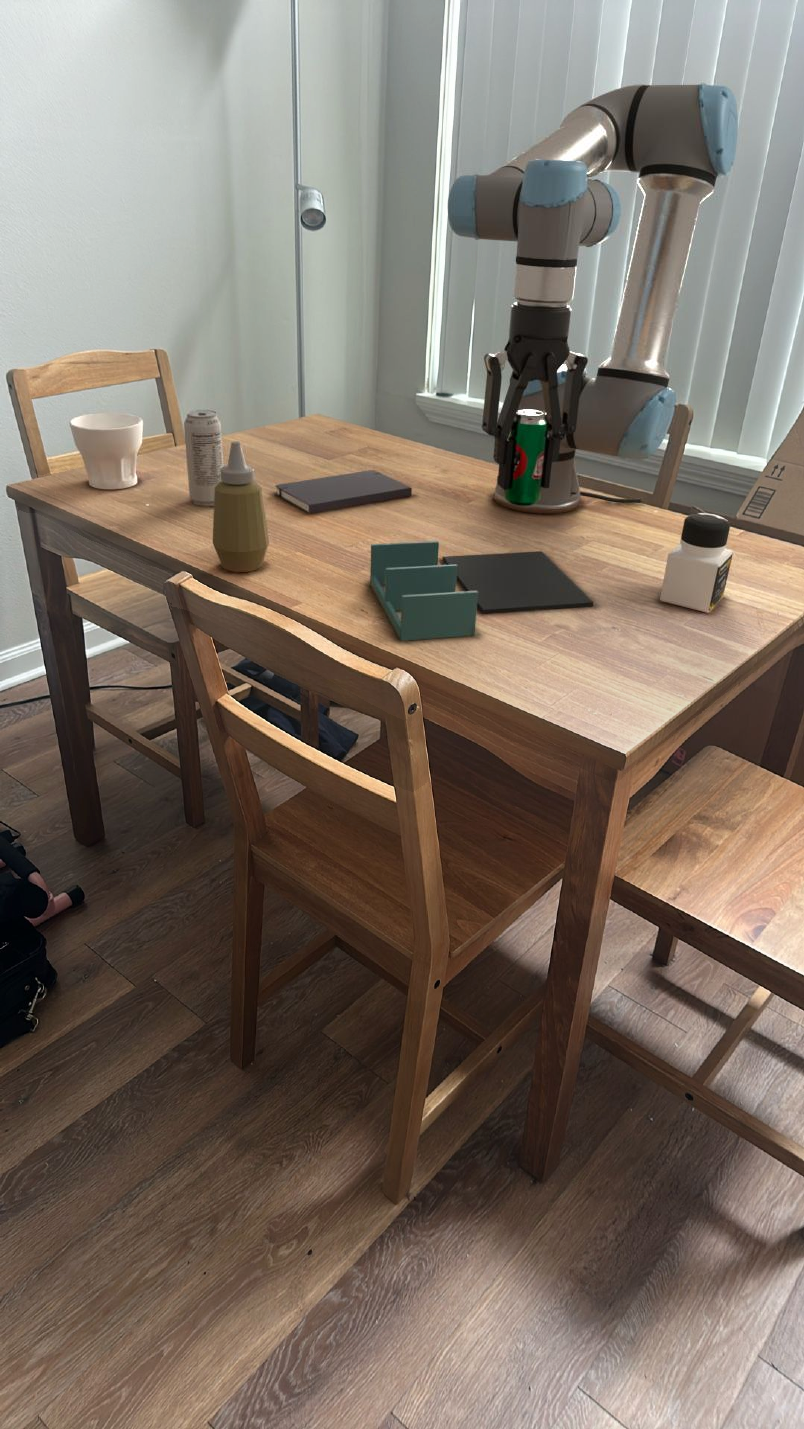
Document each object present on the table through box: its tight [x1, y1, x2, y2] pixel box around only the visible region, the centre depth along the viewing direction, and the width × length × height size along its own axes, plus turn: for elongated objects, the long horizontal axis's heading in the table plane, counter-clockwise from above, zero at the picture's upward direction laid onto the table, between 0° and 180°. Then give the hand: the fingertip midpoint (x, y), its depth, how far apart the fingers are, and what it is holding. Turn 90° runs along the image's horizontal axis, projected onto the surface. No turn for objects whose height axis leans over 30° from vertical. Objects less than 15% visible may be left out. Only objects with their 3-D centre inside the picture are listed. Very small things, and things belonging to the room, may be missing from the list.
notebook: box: [274, 469, 413, 514], centre depth 170 cm, size 13×2×21 cm
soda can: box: [504, 409, 549, 506], centre depth 128 cm, size 5×5×12 cm
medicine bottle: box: [659, 512, 734, 614], centre depth 131 cm, size 7×7×12 cm
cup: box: [68, 412, 144, 491], centre depth 169 cm, size 12×12×11 cm
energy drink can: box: [183, 409, 224, 507], centre depth 160 cm, size 6×6×15 cm
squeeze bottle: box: [212, 440, 270, 573], centre depth 134 cm, size 8×8×18 cm
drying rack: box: [369, 540, 478, 642], centre depth 126 cm, size 10×19×6 cm, turn 14°
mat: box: [442, 550, 594, 614], centre depth 137 cm, size 16×20×1 cm
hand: (523, 485), depth 130 cm, fingers closed on soda can, 5 cm apart
